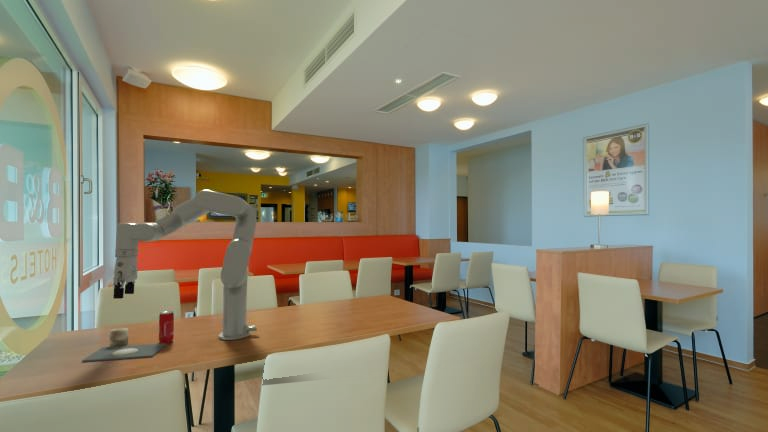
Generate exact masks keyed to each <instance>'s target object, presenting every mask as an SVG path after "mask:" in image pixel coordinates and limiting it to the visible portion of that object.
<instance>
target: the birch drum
mask: <svg viewBox="0 0 768 432" xmlns="http://www.w3.org/2000/svg"><path fill="white" fill-rule="evenodd" d="M128 345H129V327H120V328H119V327H118V328H114V329H111V330H109V346H108V347H116V346H128Z"/></svg>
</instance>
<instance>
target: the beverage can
mask: <svg viewBox="0 0 768 432" xmlns="http://www.w3.org/2000/svg"><path fill="white" fill-rule="evenodd" d="M158 316H159V317H158V320H159V321H158V341H159V344H162V343H166V344H169V343H172V342H173V340H174V330H175V329H174V324H175V323H174V322H175V313H174V311H173V310H172V311H171V310H170V311H168V310H167V311H162V312H159V315H158Z"/></svg>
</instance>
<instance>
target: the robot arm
mask: <svg viewBox="0 0 768 432" xmlns="http://www.w3.org/2000/svg"><path fill="white" fill-rule="evenodd" d="M209 213H216V214H220V215H225V216H231V217H235V226H234V230H233V234H232V239H231V241H230V242H229V243H228V245H227V247H226V250H225V254H224V258H223V261H222V262H223V263H222V268H221V272H220V281H221V283H222V284H223V287H222V288H223V294H222V331H221V332H220V333H219V334H218V338H219V339H220V340H224V341H236V340H242V339H245V338H247V337H249V336H250V335H251V332H258V326H257V325H256V326H255V325H248V322H247V307H248V306H247V300H248V299H247V298H248V266H249V263H250V262H249V261H250V257H251V254H252V252H253V244H254V243H253V242H254V238H255V232H256V229H257V228H256V226H257V216H256V212H255V210H254V208H253V207H252V206H251V205H250V204H249V203H248V202H247V201H246V200H245V199H243V198H241V197H240V196H237V195H232V194H227V193H222V192H218V191H214V190H211V189H203V190H202V189H201V190H200V191H198V192H197V193H196V194H195V195H194V197H192V198H190V199H188V200H186V201H184V202H181V203H180V204H178V205H176V206H175V207H174V208H173V209H172V211H171V212H170V213H169V214H167V215H165V216H164V217H162V218H159V219H158V220H157V221H154V222H149V223H148V222H145V223H135V222H119V223H118V224H116V225H117V226H116V235H115V248H114V249H115V250H114V258H116V259H115V263H114V264H115V265H114V274H113V295H112V296H113V299H114V300H115V299H117V300H119V299H124V294H125V295H133V294H135V283H136V280H137V279H138V255H139V253H138V252H139V243H140V242H146V243H149V242H155V241H159V240H161V239H163V238H165V237H167V236H169V235H172V234H173V233H174V232H176V231H178V230H180V229H181V228H184V227H185V226H187V225H188V224H190V223H193V222H194V221H197V220H198V219H199V218H202V217H204V216H206V215H207V214H209Z"/></svg>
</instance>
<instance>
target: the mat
mask: <svg viewBox="0 0 768 432" xmlns="http://www.w3.org/2000/svg"><path fill="white" fill-rule="evenodd" d="M166 344H167V343H162V344H161V343H151V344H150V343H149V344H134V345H133V344H131V345H125V346H116V347H109V346H105V347H101V348H99V349H98V350H96V351H94V352H93V353H91V354H90V355H88V356H86V357H85V358H84V359H82V360H81V363H88V362H89V363H90V362H91V363H92V362H102V361H104V362H105V361H116V360H127V359H128V360H129V359H130V360H131V359H142V358H153V357H154V356H155V355H156V354H157V353H159V351H161V350H162V349H163V347H165V346H166Z"/></svg>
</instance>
